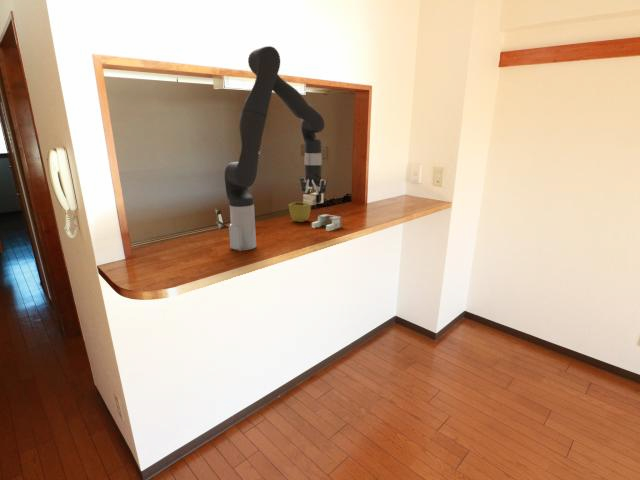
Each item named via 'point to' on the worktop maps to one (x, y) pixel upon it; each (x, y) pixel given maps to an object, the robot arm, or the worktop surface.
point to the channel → (328, 222)
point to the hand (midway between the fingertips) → (313, 201)
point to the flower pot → (299, 211)
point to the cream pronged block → (312, 199)
